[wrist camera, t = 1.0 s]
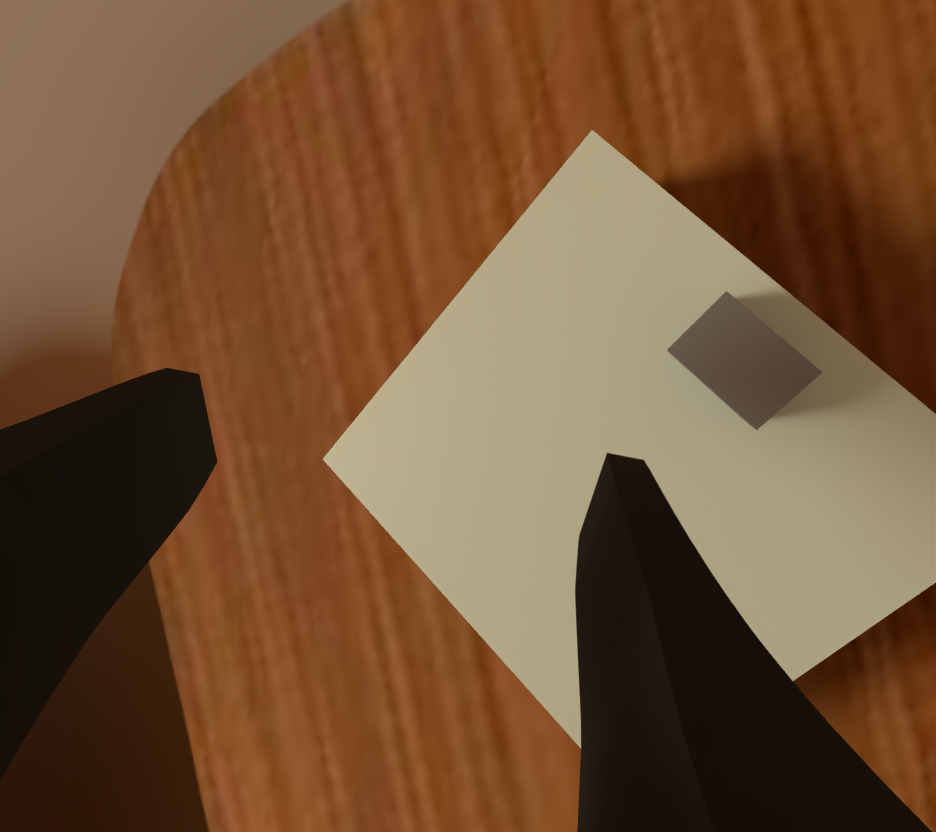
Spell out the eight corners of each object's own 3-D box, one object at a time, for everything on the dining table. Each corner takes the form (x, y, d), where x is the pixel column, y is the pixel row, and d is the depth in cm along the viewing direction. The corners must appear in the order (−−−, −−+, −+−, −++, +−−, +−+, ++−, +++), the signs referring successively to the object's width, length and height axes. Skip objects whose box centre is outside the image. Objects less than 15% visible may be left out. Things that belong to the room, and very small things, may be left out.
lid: (1031, 500, 14) (1112, 530, 12) (625, 784, 19) (618, 852, 16) (594, 137, 17) (580, 97, 15) (331, 456, 22) (285, 469, 19)
